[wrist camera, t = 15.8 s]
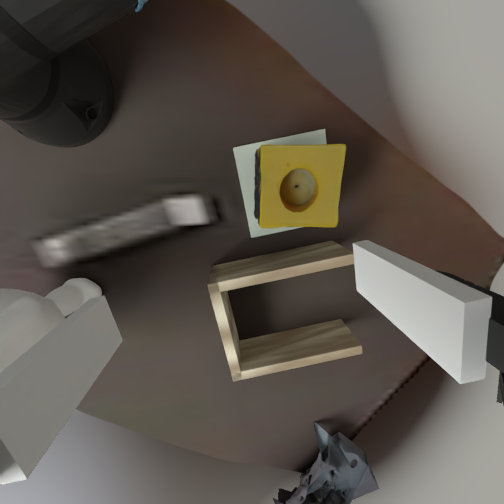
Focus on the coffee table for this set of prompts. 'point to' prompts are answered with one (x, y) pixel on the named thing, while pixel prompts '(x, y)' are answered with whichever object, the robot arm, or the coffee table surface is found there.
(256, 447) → the coffee table surface
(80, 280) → the teddy bear
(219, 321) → the wooden u-shaped frame
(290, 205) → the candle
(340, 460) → the crumpled grey paper
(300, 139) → the felt mat
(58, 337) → the robot arm
